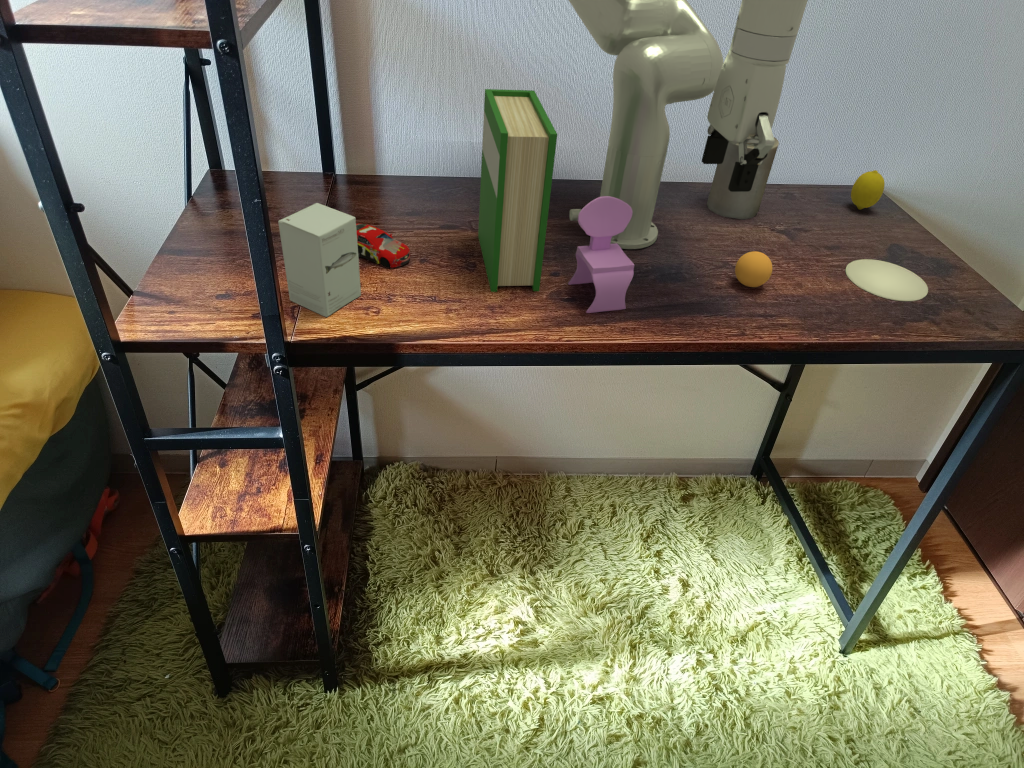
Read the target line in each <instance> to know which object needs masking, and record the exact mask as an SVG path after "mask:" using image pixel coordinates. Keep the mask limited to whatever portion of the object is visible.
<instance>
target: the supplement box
mask: <svg viewBox="0 0 1024 768" xmlns="http://www.w3.org/2000/svg"><path fill="white" fill-rule="evenodd" d="M356 221H357V219H356V217H355V216H353V215H351V214H348V213H345V212H343V211H341V210H340V211H339V210H337V209H335V208H331V207H329V206H327V205H324V204H321V203H319V202H315V203H313V204H311V205H309V206H307V207H305V208H303V209H301V210H299V211H296V212H295V213H292V214H290V215H288V216H286V217H283V218H282V219H279V220H278V221H277V222H278V229H279V235H280V236H279V237H280V241H281V249H282V257H283V262H284V271H285V275H286V276H285V277H286V282H287V290H288V296H289V297H288V298H289V300H290V302H293V303H294V304H298V305H299V306H301V307H303V308H306V309H308V310H310V311H311V312H314V313H316V314H318V315H320V316H323V317H325V318H328V317H330V316H331V315H332V314H333V313H335V312H336V311H338V310H340V309H341V308H343V307H345V306H346V305H347V304H349V303H350V302H352V301H353V300H354V301H355V300H356V299H357V298H359V297H362V289H361V287H362V286H361V276H360V275H361V274H360V262H359V261H360V259H359V256H358V244H357V230H356V224H357V222H356Z"/></svg>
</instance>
